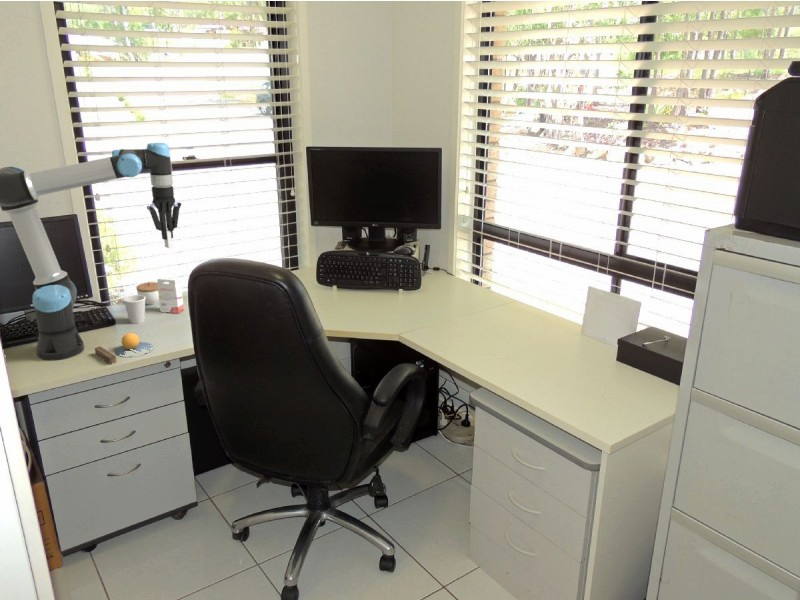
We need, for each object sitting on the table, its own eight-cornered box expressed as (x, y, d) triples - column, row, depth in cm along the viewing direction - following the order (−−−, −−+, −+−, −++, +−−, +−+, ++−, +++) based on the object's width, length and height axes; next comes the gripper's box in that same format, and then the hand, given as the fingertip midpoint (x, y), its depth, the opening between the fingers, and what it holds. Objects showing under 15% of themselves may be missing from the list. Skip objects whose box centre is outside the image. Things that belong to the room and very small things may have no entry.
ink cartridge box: (184, 309, 267) (181, 277, 262) (178, 313, 262) (175, 280, 257) (166, 308, 268) (162, 275, 263) (160, 312, 263) (156, 279, 258)
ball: (136, 333, 224) (141, 348, 226) (136, 329, 230) (141, 344, 231) (119, 338, 222) (123, 353, 224) (119, 333, 228) (124, 348, 229)
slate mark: (125, 360, 218) (125, 360, 218) (108, 349, 226) (108, 349, 226) (160, 349, 228) (160, 349, 227) (143, 339, 236) (143, 339, 236)
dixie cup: (123, 320, 254) (120, 297, 250) (144, 316, 259) (142, 293, 255) (129, 326, 248) (126, 303, 244) (151, 322, 252) (148, 299, 249)
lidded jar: (164, 297, 281) (161, 277, 278) (164, 305, 271) (162, 284, 268) (138, 299, 277) (136, 279, 274) (138, 307, 268) (135, 287, 265)
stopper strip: (110, 364, 215) (110, 357, 214) (95, 354, 223) (94, 347, 222) (116, 362, 216) (115, 356, 216) (101, 352, 224) (100, 346, 223)
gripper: (173, 182, 238) (179, 242, 246) (140, 186, 229) (147, 248, 237) (183, 185, 234) (189, 246, 242) (150, 189, 224) (157, 252, 232)
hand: (168, 247), depth 239 cm, fingers closed
